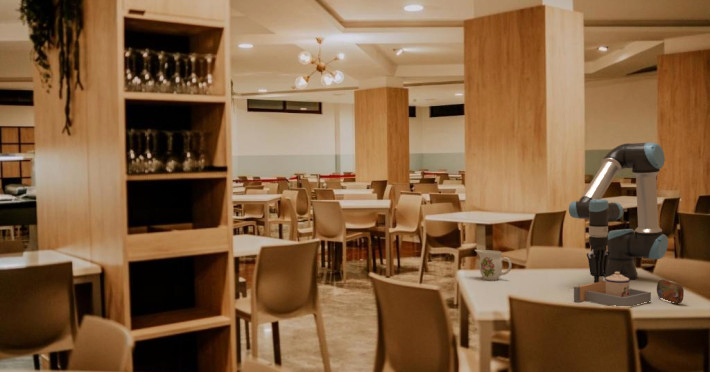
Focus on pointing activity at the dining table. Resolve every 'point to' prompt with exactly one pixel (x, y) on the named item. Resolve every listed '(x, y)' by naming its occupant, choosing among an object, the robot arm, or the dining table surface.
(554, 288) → the dining table surface
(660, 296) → the tin
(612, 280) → the teacup with lid
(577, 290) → the grey tray
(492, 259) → the pitcher
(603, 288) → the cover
